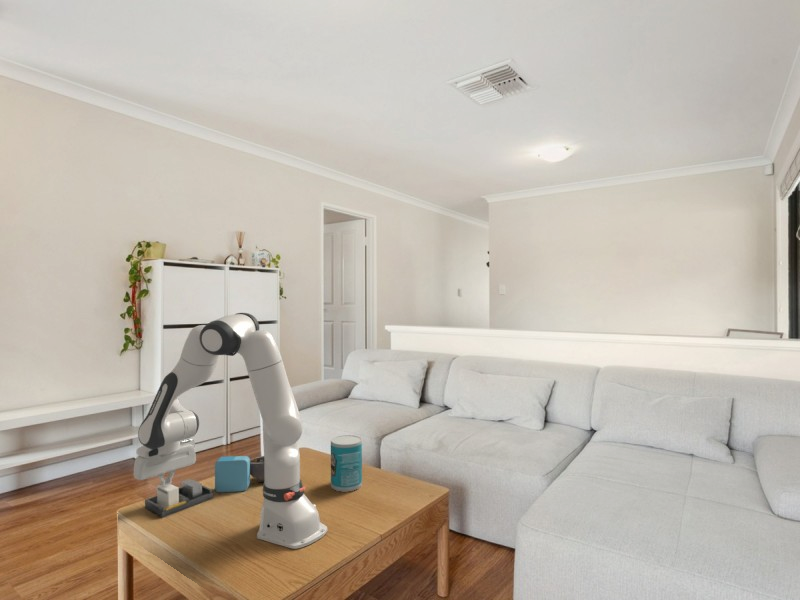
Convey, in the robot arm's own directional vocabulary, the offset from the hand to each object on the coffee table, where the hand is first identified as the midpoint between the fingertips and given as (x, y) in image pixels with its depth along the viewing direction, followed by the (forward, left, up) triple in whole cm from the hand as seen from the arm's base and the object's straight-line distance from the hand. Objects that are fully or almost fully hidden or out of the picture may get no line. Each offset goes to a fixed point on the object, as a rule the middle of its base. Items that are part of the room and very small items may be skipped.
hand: (166, 484), depth 159 cm
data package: (-5, -23, -9) cm, 25 cm away
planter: (-9, -38, -9) cm, 40 cm away
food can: (-38, -51, -9) cm, 64 cm away
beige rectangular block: (0, 0, -7) cm, 7 cm away
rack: (0, -5, -8) cm, 10 cm away
